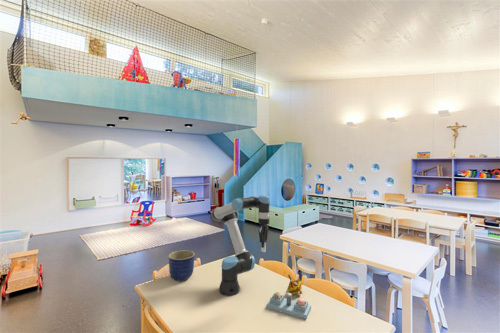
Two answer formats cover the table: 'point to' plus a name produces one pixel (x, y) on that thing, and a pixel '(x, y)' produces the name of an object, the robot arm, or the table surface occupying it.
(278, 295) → the knob beech
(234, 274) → the robot arm
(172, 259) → the planter
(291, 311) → the mount board
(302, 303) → the knob coral
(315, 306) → the table surface
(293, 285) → the toy
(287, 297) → the dial post
